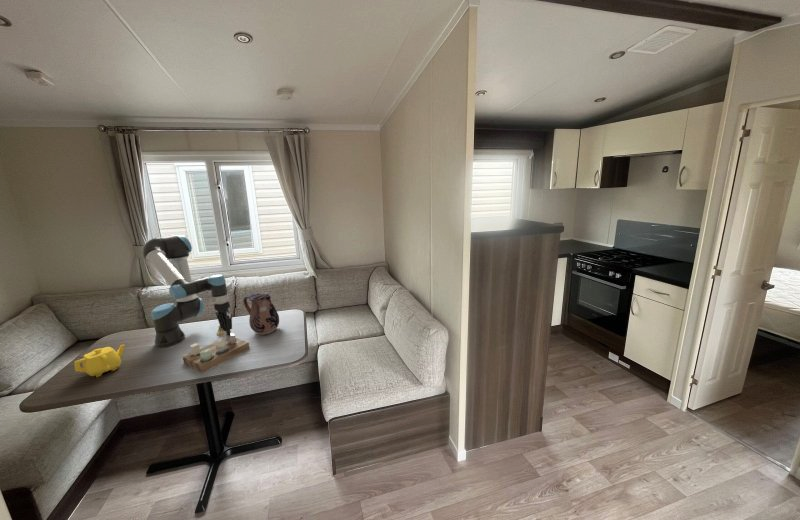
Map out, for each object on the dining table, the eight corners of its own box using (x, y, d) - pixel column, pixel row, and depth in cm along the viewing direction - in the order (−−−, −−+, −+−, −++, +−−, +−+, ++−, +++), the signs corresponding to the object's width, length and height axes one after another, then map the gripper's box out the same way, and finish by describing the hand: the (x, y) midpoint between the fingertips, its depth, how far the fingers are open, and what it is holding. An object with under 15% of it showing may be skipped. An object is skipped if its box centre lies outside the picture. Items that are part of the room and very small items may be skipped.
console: (183, 363, 161) (182, 356, 160) (230, 341, 183) (229, 335, 182) (202, 372, 152) (201, 365, 151) (249, 348, 173) (248, 342, 172)
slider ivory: (191, 354, 162) (189, 345, 161) (197, 351, 164) (195, 343, 163) (194, 355, 160) (192, 347, 159) (200, 352, 163) (198, 344, 162)
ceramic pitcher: (274, 337, 185) (268, 300, 179) (240, 339, 186) (233, 301, 180) (284, 325, 202) (279, 290, 196) (254, 326, 203) (248, 291, 197)
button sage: (199, 359, 156) (197, 352, 155) (209, 354, 160) (207, 348, 159) (204, 361, 153) (203, 354, 153) (214, 356, 158) (213, 350, 157)
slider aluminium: (228, 343, 171) (226, 335, 170) (233, 341, 174) (232, 333, 173) (231, 344, 170) (229, 336, 169) (236, 342, 173) (235, 334, 171)
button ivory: (214, 348, 162) (212, 341, 161) (223, 343, 166) (222, 337, 165) (219, 350, 160) (217, 343, 159) (228, 345, 164) (227, 339, 163)
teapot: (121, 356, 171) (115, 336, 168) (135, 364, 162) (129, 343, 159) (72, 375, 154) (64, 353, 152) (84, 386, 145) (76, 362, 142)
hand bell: (233, 331, 197) (229, 308, 193) (222, 336, 190) (217, 313, 186) (225, 329, 200) (221, 307, 197) (213, 334, 193) (208, 311, 189)
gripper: (208, 302, 168) (215, 340, 173) (221, 306, 162) (228, 345, 167) (221, 298, 174) (228, 334, 180) (234, 301, 168) (241, 339, 173)
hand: (228, 339), depth 173 cm, fingers closed
